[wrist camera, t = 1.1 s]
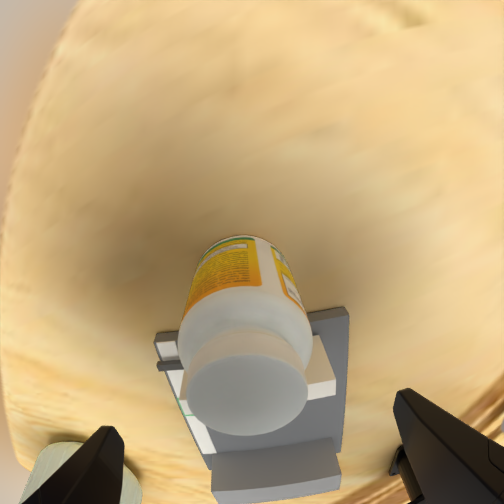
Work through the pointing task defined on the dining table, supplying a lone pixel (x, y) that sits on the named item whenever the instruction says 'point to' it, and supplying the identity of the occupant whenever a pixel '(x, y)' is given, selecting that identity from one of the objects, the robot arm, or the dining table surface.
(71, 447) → the vase
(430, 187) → the dining table surface
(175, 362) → the gauge paddle
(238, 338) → the supplement bottle
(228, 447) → the gauge base
